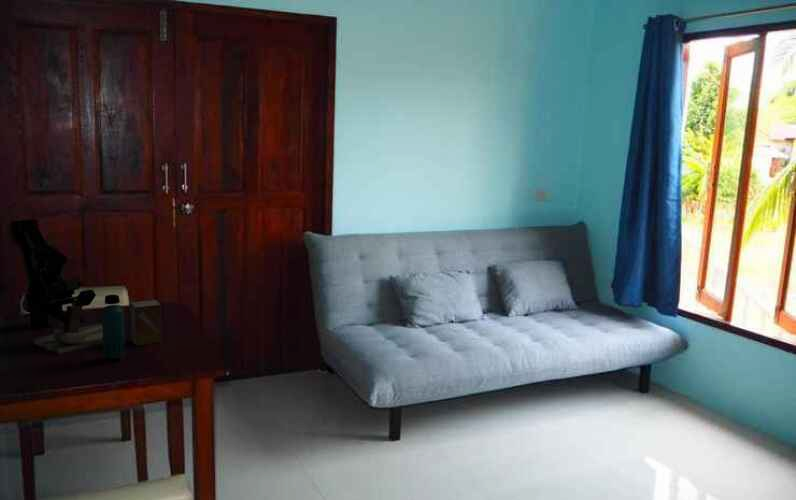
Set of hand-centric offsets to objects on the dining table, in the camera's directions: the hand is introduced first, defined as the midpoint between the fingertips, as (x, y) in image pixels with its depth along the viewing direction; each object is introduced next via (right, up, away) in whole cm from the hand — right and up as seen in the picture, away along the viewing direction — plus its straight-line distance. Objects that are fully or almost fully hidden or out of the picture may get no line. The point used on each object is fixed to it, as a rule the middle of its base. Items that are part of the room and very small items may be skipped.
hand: (75, 323), depth 218 cm
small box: (+19, -7, +9) cm, 22 cm away
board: (-3, -6, +8) cm, 11 cm away
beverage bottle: (+15, -10, -8) cm, 20 cm away
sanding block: (-3, -5, +1) cm, 6 cm away
